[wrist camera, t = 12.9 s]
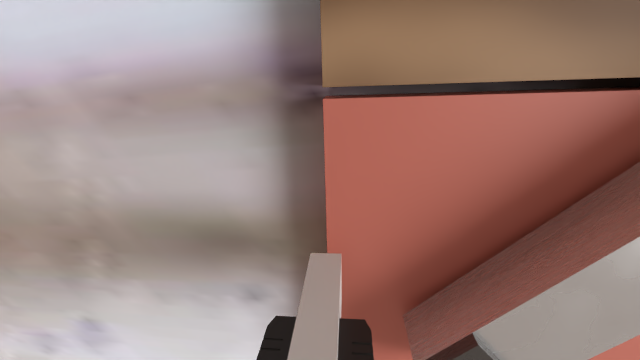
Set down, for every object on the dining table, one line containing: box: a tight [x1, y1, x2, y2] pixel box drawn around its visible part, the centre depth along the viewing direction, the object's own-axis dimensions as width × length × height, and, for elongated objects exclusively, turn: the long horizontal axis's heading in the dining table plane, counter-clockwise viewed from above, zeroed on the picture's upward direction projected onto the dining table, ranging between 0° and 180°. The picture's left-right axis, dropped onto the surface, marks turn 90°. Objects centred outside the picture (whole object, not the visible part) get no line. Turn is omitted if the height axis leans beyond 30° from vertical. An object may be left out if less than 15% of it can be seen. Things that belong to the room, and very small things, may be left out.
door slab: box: [323, 87, 640, 360], centre depth 15 cm, size 22×30×6 cm
